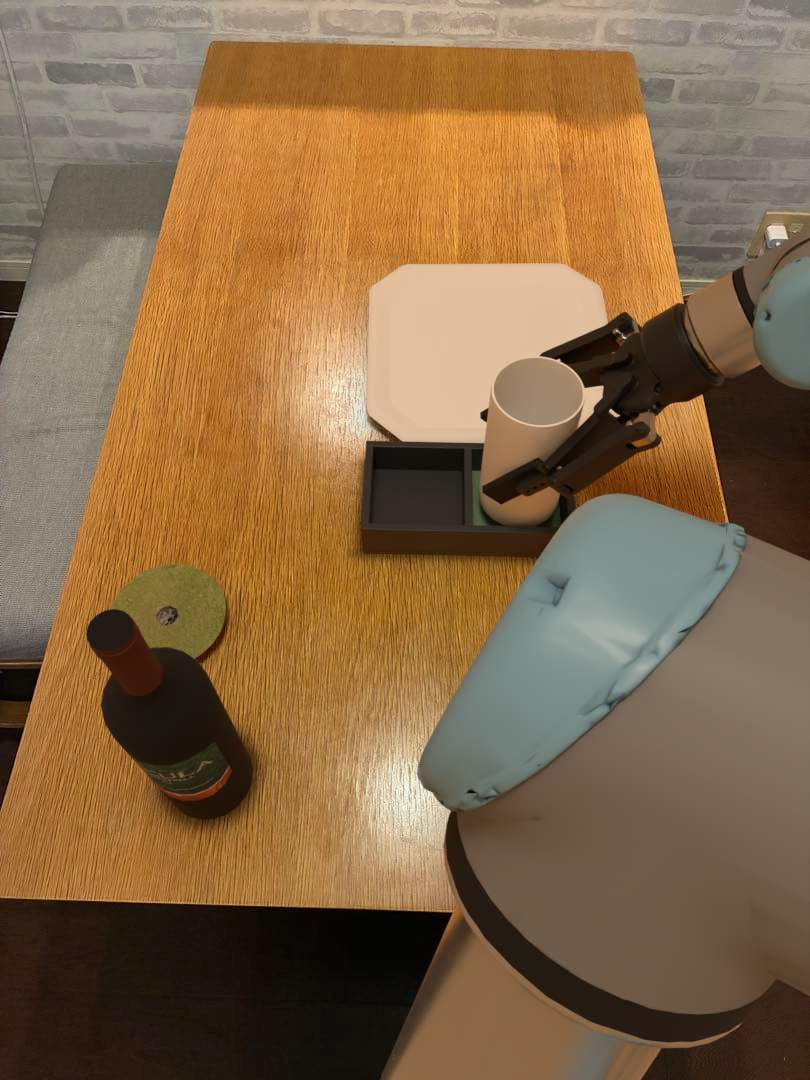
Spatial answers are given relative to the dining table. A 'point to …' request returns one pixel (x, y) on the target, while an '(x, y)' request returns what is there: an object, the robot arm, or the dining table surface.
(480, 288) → the plate
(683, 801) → the robot arm
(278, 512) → the dining table surface
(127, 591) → the mat
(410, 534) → the holder
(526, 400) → the cup
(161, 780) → the wine bottle
